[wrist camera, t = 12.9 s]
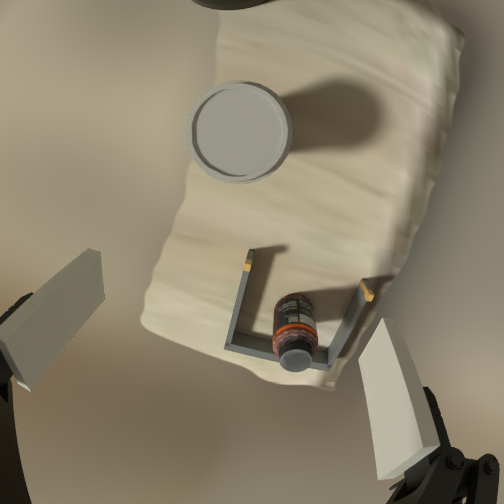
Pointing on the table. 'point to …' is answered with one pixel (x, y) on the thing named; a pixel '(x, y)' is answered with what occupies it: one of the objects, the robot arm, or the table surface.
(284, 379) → the table surface
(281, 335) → the supplement bottle
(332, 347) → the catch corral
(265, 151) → the disposable coffee cup
